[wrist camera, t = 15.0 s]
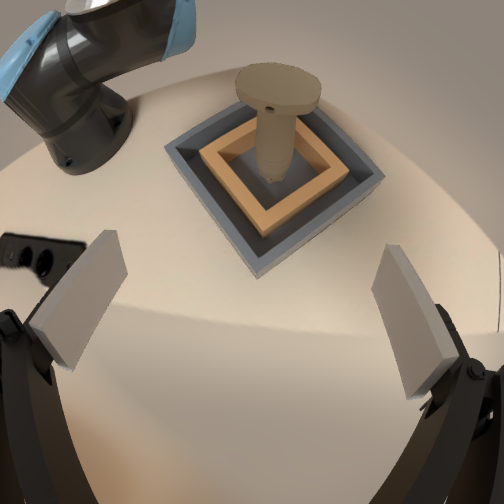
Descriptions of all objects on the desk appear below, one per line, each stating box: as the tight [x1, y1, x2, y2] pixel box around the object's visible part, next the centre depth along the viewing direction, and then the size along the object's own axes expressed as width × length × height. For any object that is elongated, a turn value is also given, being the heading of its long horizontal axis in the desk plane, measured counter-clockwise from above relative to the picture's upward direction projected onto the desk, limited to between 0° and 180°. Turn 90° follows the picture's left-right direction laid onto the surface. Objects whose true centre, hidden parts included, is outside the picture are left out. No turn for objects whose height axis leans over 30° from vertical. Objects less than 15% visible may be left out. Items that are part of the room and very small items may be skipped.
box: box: [164, 101, 385, 279], centre depth 31 cm, size 18×18×5 cm
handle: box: [235, 63, 321, 184], centre depth 25 cm, size 5×6×15 cm
